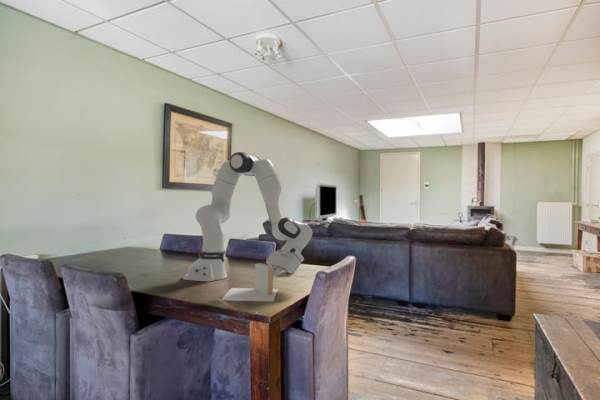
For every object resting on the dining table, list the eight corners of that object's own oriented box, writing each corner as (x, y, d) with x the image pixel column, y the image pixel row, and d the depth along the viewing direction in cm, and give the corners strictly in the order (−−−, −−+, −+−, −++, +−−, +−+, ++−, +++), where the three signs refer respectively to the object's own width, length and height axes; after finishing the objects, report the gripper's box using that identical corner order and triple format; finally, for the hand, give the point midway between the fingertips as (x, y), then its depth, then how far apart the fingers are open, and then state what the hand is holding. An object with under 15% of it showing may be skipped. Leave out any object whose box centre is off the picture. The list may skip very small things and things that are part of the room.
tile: (260, 288, 155) (260, 263, 154) (272, 293, 147) (272, 267, 147) (255, 289, 153) (255, 263, 153) (266, 295, 145) (267, 267, 145)
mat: (220, 301, 137) (220, 300, 137) (231, 289, 155) (231, 287, 155) (273, 302, 137) (273, 301, 137) (277, 290, 155) (278, 288, 155)
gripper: (273, 245, 165) (256, 267, 160) (299, 251, 150) (281, 275, 144) (281, 253, 168) (264, 275, 162) (306, 259, 152) (289, 284, 146)
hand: (272, 275), depth 153 cm, fingers closed
